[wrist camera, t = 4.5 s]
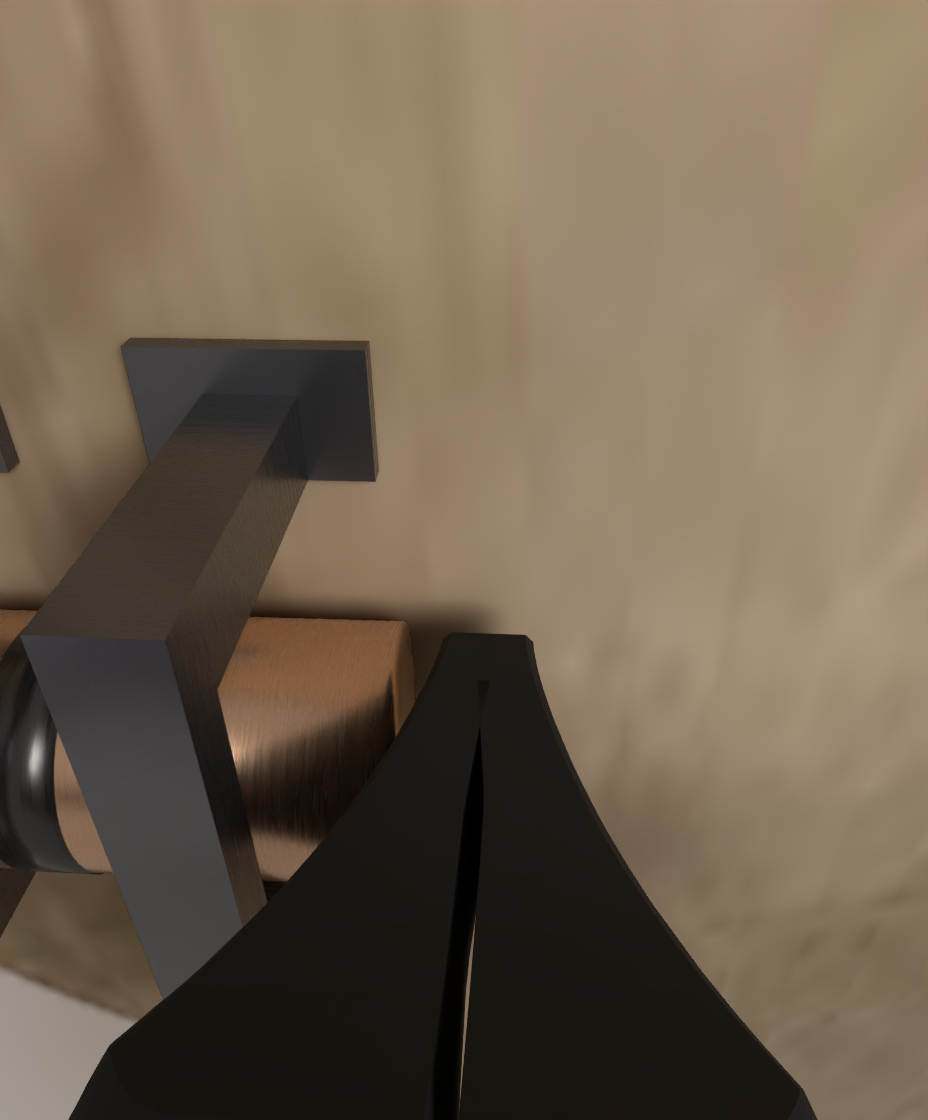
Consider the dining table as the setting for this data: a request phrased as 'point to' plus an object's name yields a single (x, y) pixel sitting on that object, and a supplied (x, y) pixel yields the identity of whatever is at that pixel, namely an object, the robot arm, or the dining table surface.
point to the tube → (254, 734)
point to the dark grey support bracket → (190, 617)
